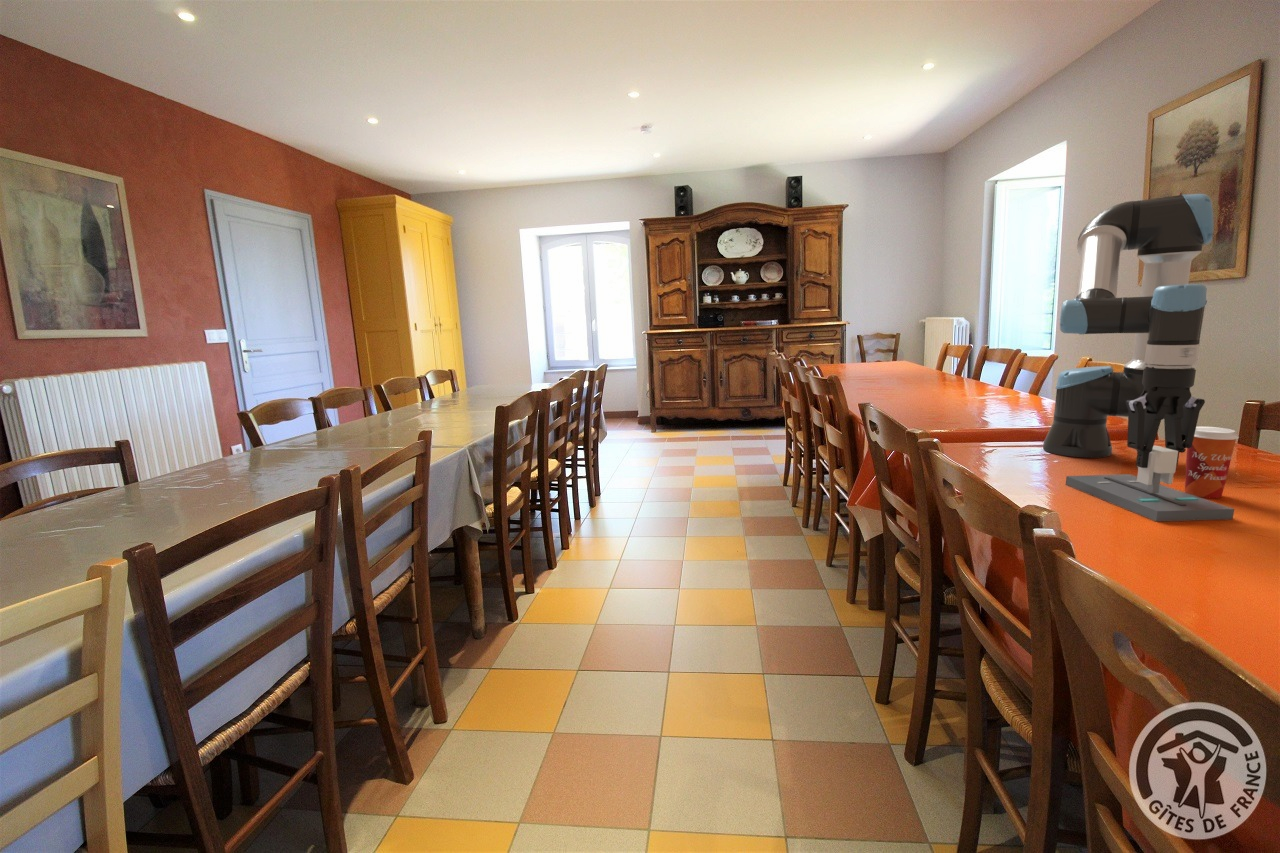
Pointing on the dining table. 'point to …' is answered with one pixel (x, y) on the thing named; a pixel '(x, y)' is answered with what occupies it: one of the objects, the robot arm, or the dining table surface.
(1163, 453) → the fader
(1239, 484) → the dining table surface
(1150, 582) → the dining table surface
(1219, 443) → the paper cup
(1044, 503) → the dining table surface
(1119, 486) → the console board
